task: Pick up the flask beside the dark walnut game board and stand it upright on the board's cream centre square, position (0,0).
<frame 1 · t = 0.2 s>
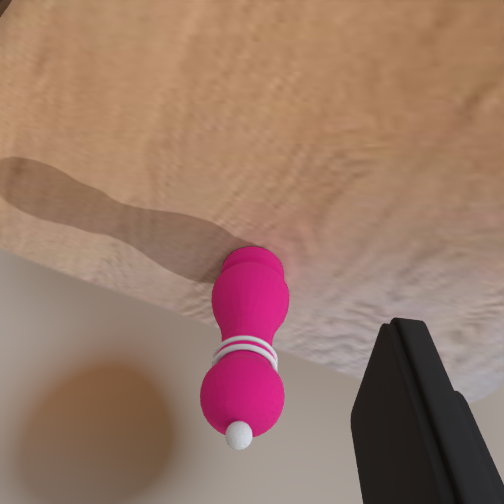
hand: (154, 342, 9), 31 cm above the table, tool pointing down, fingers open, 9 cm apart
pepper mill: (252, 271, 46), on the table
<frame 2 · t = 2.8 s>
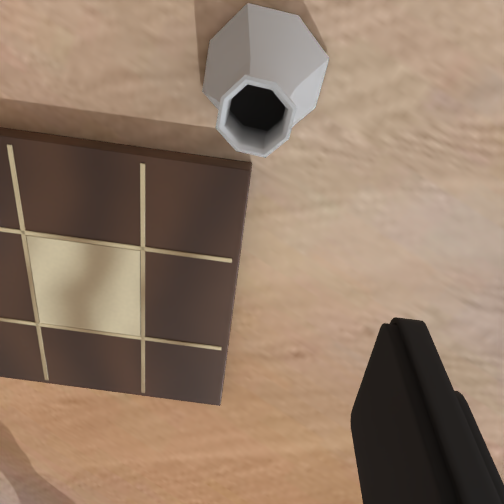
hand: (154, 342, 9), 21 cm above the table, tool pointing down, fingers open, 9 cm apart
board: (94, 277, 35), on the table
flask: (264, 73, 27), on the table
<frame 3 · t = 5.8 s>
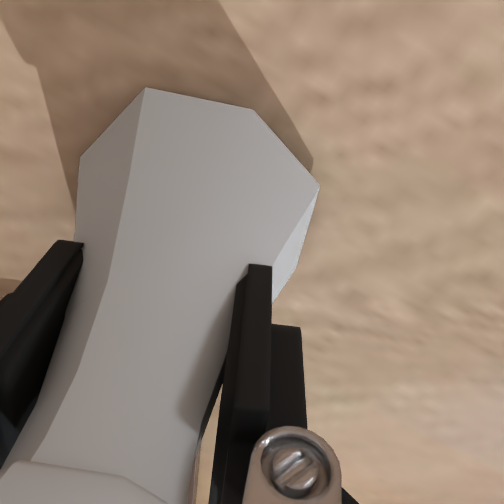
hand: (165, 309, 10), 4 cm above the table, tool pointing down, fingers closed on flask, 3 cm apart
flask: (197, 207, 14), on the table, touching gripper
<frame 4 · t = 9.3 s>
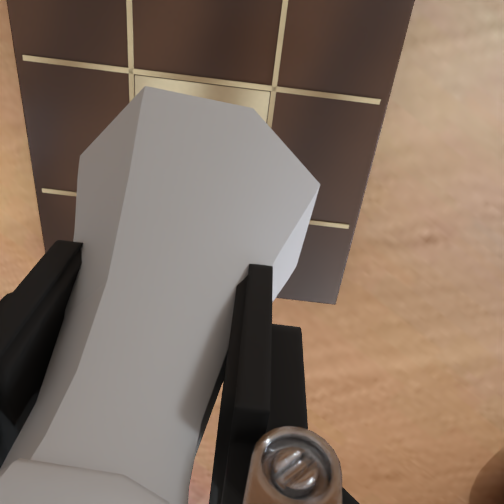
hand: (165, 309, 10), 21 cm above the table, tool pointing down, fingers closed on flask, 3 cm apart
board: (202, 141, 30), on the table
flask: (196, 207, 14), point 17 cm above the table, touching gripper
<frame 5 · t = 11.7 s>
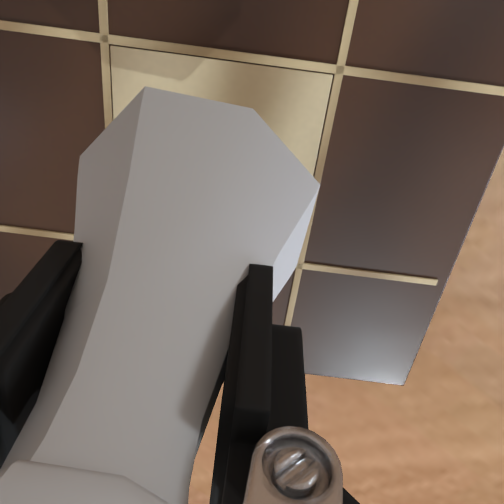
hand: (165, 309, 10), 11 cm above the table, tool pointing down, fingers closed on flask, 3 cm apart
board: (218, 153, 20), on the table
flask: (196, 207, 14), point 6 cm above the table, touching gripper
when the fingers open (6 cm above the table, at t = 13.2 s): flask stays where it is, resting on board.
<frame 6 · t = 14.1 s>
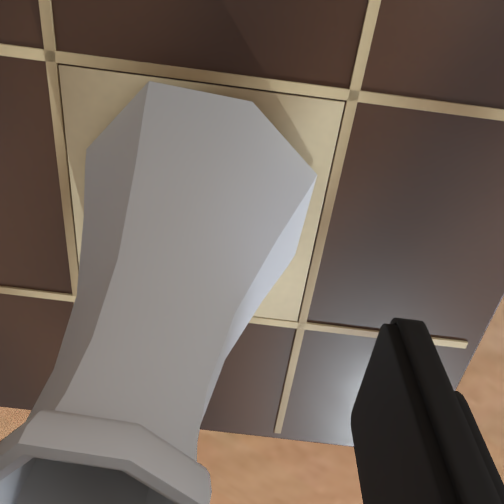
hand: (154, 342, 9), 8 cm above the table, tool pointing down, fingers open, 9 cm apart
board: (202, 192, 16), on the table
flask: (198, 198, 15), point 1 cm above the table, touching board
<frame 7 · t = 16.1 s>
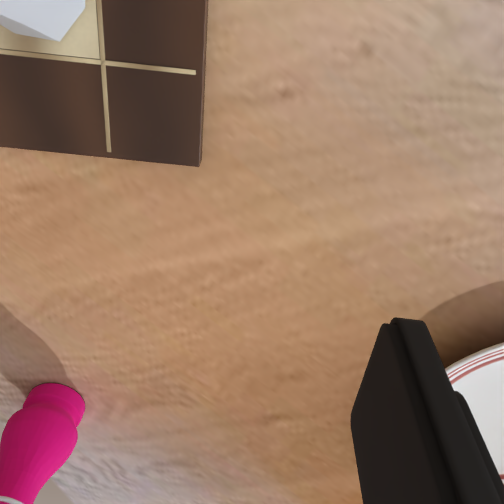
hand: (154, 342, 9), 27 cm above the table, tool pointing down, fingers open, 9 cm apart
pepper mill: (58, 400, 51), on the table
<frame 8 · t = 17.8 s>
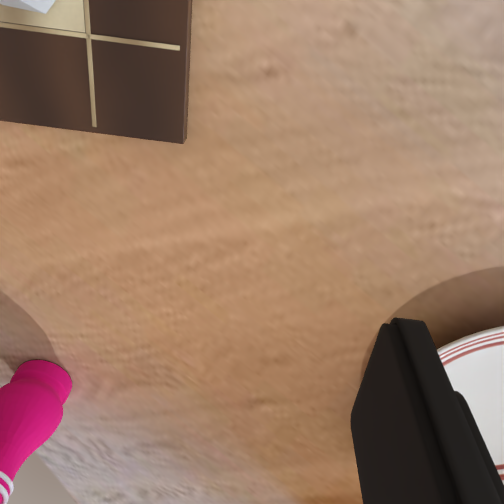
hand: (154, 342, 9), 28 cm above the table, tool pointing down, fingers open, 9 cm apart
pepper mill: (45, 377, 52), on the table
dinner plate: (493, 399, 50), on the table
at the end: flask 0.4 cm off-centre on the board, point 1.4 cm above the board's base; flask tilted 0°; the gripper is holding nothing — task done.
